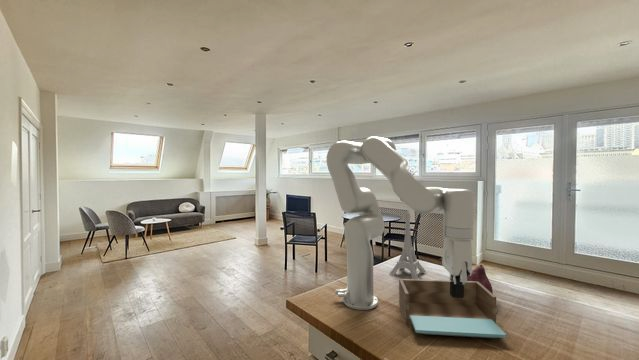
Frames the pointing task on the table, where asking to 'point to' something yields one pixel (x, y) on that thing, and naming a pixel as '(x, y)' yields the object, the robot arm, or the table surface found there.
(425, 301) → the tray
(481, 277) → the vegetable
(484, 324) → the panel
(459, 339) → the table surface
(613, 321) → the table surface
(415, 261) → the eiffel tower
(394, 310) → the table surface
